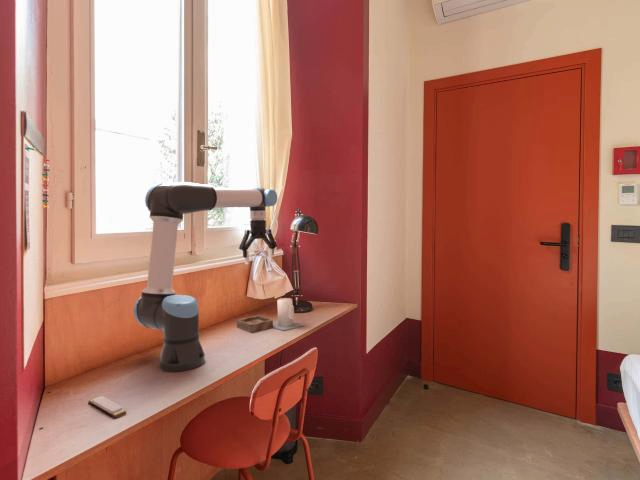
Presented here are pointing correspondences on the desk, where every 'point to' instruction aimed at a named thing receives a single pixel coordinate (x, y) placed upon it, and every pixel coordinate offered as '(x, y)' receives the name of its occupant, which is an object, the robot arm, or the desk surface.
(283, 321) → the white rounded piece
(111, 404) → the harmonica
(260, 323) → the holder
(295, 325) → the mat
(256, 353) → the desk surface
